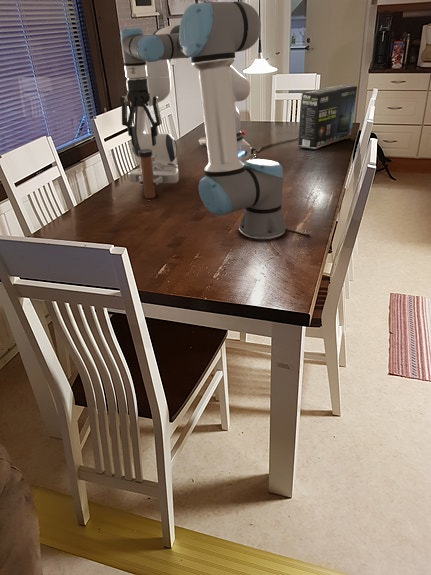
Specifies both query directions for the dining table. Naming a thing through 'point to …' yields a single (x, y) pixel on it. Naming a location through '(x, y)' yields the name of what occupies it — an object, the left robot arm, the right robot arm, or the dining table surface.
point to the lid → (145, 153)
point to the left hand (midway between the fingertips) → (147, 182)
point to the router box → (326, 115)
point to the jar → (147, 177)
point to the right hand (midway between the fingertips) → (144, 144)
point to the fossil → (203, 141)
